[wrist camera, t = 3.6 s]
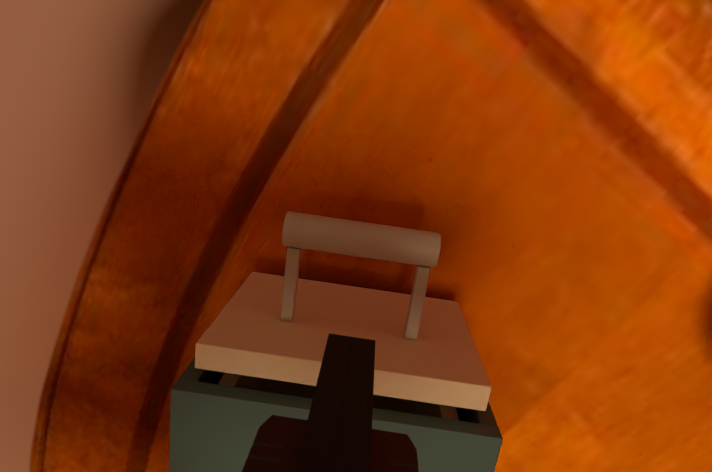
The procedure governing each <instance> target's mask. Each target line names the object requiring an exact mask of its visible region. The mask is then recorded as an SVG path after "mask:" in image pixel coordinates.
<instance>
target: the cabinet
mask: <svg viewBox="0 0 712 472" xmlns="http://www.w3.org/2000/svg"><path fill="white" fill-rule="evenodd" d="M224 373H225V372H218V371H211V370H205V369H198V368H195V358H194V359H193V360H192V362H191V363H190V364H189V366H188V367H187V368H186V370H185V371H184V373H183V374H182V375H181V377H180V378H179V379H178V381H177V382H176V383H175V385H174V386H173V387H172V389H171V405H170V440H169V472H242V470H243V467H244V464H245V462H246V459H247V458H248V454H249V452H250V449H251V447H252V445H253V442H254V439H255V436H256V434H257V431H258V429H259V427H260V426H261V425H262V424H263V423H264V422H265V421H266V420H267V419H268V418H269V417H271V416H272V415H277V416H283V417H290V418H296V419H303V420H308V416H309V412H310V408H311V404H312V400H313V399H311V398H305V397H298V396H291V395H284V394H278V393H271V392H264V391H258V390H251V389H244V388H238V387H231V386H224V385H218V383H219V381H220V380H221V378H222V376H223V375H224ZM456 410H457V414H458V418H459V421H458V420H452V419H445V418H438V417H432V416H425V415H418V414H412V413H405V412H398V411H392V410H385V409H378V408H373V416H372V429H376V430H383V431H389V432H396V433H402V434H408V436H409V438H410V439H411V441H412V443H413V444H414V446H415V448H416V449H417V458H418V470H419V472H494V470H495V466H496V462H497V459H498V455H499V451H500V447H501V443H502V440H503V439H502V436H501V433H500V430H499V428H498V426H497V423H496V421H495V418H494V415H493V412H492V410H491V407H490V404H489V401H488V404H487V408H486V411H480V410H473V409H466V408H460V407H456Z"/></svg>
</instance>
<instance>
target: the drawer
mask: <svg viewBox="0 0 712 472" xmlns="http://www.w3.org/2000/svg"><path fill="white" fill-rule="evenodd" d="M282 245H283V246H288V248H287V253H286V264H285V274H284V276H279V275H272V274H265V273H258V272H252V273H251V274H250V275H249V276H248V278H247V279H246V280H245V281H244V283H243V284H242V285H241V287H240V288H239V289H238V290H237V292H236V293H235V294H234V295H233V297H232V298H231V299H230V301H229V302H228V303H227V304H226V306H225V307H224V308H223V309H222V311H221V312H220V313H219V315H218V316H217V317H216V318H215V320H214V321H213V322H212V323H211V325H210V326H209V327H208V329H207V330H206V331H205V332H204V334H203V335H202V336H201V337H200V339H199V340H198V341H197V343H196V348H195V368H198V369H205V370H211V371H218V372H225V373H224V375H223V376H222V378H221V380H220V381H219V383H218V385H224V386H231V387H238V388H244V389H251V390H258V391H264V392H271V393H278V394H284V395H291V396H298V397H305V398H311V399H313V396H314V392H315V388H316V384H317V380H318V376H319V372H320V367H321V363H322V359H323V355H324V351H325V347H326V343H327V339H328V335H329V333H330V334H337V335H343V336H350V337H357V338H363V339H370V340H375V365H374V391H373V408H378V409H385V410H392V411H398V412H405V413H412V414H418V415H425V416H432V417H438V418H445V419H452V420H458V421H459V418H458V414H457V410H456V407H460V408H466V409H473V410H480V411H486V408H487V404H488V400H489V396H490V392H491V388H492V387H491V385H490V382H489V380H488V377H487V374H486V372H485V369H484V367H483V364H482V362H481V359H480V357H479V354H478V351H477V349H476V346H475V344H474V341H473V339H472V336H471V334H470V331H469V329H468V326H467V323H466V321H465V318H464V316H463V313H462V311H461V308H460V306H459V303H458V302H457V301H451V300H444V299H437V298H430V297H425V294H426V289H427V283H428V278H429V273H430V267H433V268H434V267H436V265H437V263H438V259H439V255H440V248H441V235H440V233H437V232H430V231H423V230H416V229H409V228H402V227H395V226H388V225H381V224H374V223H367V222H360V221H353V220H347V219H340V218H333V217H326V216H319V215H312V214H305V213H298V212H291V211H288V212H287V213H286V215H285V219H284V223H283V229H282ZM301 248H302V249H309V250H316V251H323V252H330V253H336V254H343V255H350V256H357V257H364V258H371V259H378V260H385V261H392V262H399V263H406V264H413V265H416V269H415V275H414V280H413V286H412V291H411V295H410V294H403V293H396V292H389V291H382V290H375V289H368V288H361V287H355V286H348V285H341V284H334V283H327V282H320V281H313V280H306V279H300V278H298V276H299V267H300V258H301Z"/></svg>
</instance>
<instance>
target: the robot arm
mask: <svg viewBox="0 0 712 472" xmlns="http://www.w3.org/2000/svg"><path fill="white" fill-rule="evenodd" d="M374 365H375V340H370V339H363V338H357V337H350V336H343V335H337V334H330V333H329V335H328V339H327V343H326V347H325V351H324V355H323V359H322V363H321V367H320V372H319V376H318V380H317V384H316V388H315V392H314V396H313V400H312V404H311V408H310V412H309V416H308V420H303V419H296V418H290V417H283V416H277V415H272V416H271V417H269V418H268V419H267V420H266V421H265V422H264V423H263V424H262V425H261V426H260V427H259V429H258V431H257V434H256V436H255V439H254V442H253V445H252V447H251V449H250V452H249V454H248V458H247V459H246V462H245V464H244V467H243V470H242V472H419V470H418V458H417V449H416V448H415V446H414V444H413V443H412V441H411V439H410V438H409V436H408V434H402V433H396V432H389V431H383V430H376V429H372V416H373V391H374Z"/></svg>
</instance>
